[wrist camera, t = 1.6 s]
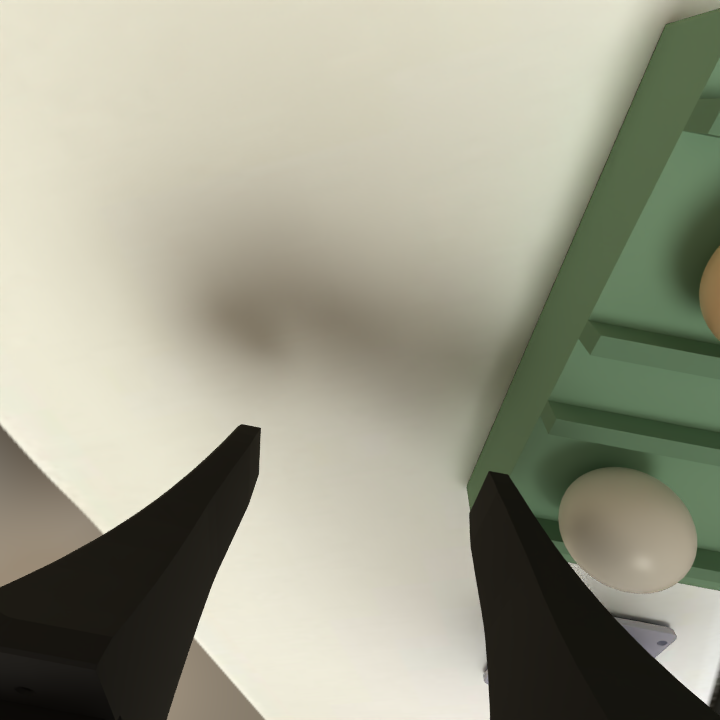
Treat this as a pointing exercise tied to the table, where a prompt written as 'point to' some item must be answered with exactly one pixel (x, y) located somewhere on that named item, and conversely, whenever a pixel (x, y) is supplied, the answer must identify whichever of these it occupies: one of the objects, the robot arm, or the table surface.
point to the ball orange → (711, 294)
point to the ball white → (627, 530)
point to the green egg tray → (632, 314)
